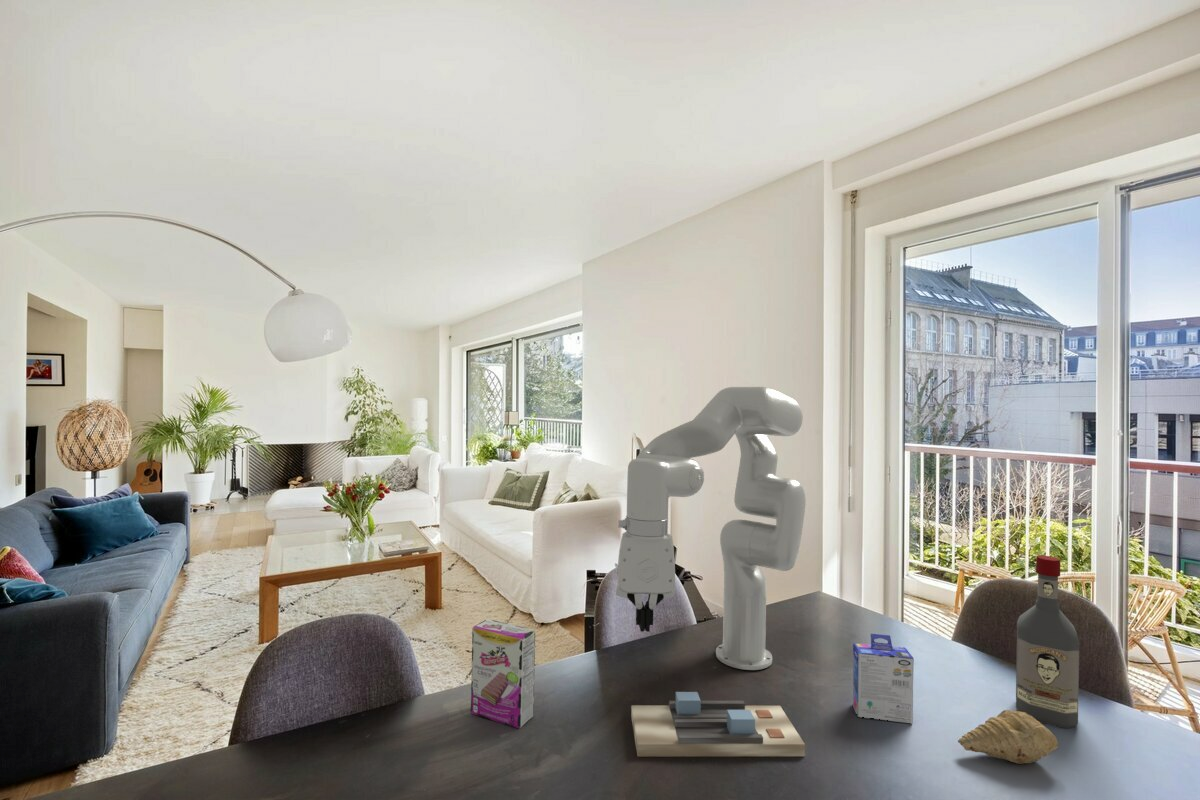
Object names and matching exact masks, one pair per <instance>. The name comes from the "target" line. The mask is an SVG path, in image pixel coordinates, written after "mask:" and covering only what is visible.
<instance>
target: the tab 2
mask: <svg viewBox="0 0 1200 800" xmlns="http://www.w3.org/2000/svg"><path fill="white" fill-rule="evenodd" d="M727 729H728V731H729V733H730V734H755V718H754V716H753V715H752V713H751V711H750V710H727Z"/></svg>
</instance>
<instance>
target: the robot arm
mask: <svg viewBox="0 0 1200 800" xmlns="http://www.w3.org/2000/svg"><path fill="white" fill-rule="evenodd" d="M803 420H804V419H803V410H802V408H801V406H800V404H799V403H798V402H797V400H795V399H794V398H792V397H790V396H788V395H786V394H784V393H782V392H780V391H778V390H775V389H774V388H773V389H772V388H770V387H766V386H729V387H725V388H723V389H721V390H719V391H718V392H717V393H716V394H715V395H714V396H713V397H712V399H710V401H709V402H708V403H707V404H706V405H705V406H704V407H703V408H702V410H701V411H699V413H698V414H697V415H696V416H695V417H694V418H693V419H691V420H689V421H687V422H685V423H682V424H680V425H678V426H675V427H674V428H671V429H669V430H667V431H665V432H663V433H661V434H659V435H658V436H656V437H655V438H653V439H652V440H651V441H650V442H649V443H648V444H647V445H646V446H645V447H644V448H643V449H642V450H641V451H640V452H639V453H638V455H637V456H636V458H635V459H632V460H631V461H629V462H628V465H627V482H626V484H627V485H626V486H627V487H626V488H627V490H626V516H625V518H624V519H618V523H617V524H618V528H619V529H621V528H622V529H624V530H625V532H623V533H622V534H621V535H622V536H621V539H620V545H619V551H618V560H617V561H618V562H617V575H616V576H617V584H616V588H615V595H616V596H617V597H621V598H624V599H628V600H629V601H630V602H631V603H632V604H633V605H634V606H635V625H636V626H639V630H640V632H642V633H643V632H645V631H646V632H647V633H649V632H651V629H650V628H651V627H650V626H654V610H655V609H656V608H657V607H656V606H657V605H659V603H661V601H663V600H664V599H670V598H674V597H675V596H676V590H675V587H676V566H675V565H676V564H675V563H676V562H675V561H676V560H675V547H674V542H673V536H672V535H671V534H669V533H668V528H669V527H668V525H669V500H670V497H676V498H677V497H678V498H688V497H691V496H694V495H696V494H697V493H698V492H699V491H700V490H701V489H702V487H703V485H704V482H705V472H704V469H703V467H702V465H701V464H700V463H699V462H698V461H696V460H695V459H694V458H697V457H698V458H699V457H703V456H708V455H711V454H714V453H718V452H719V451H721V450H723V449H724V448H725V446H726V445H727V444H728V443H729V441H730V440H731V439H732V438H733V436H735V437H736V439H737V442H738V444H739V449H740V457H739V467H738V472H737V479H736V483H735V490H734V498H733V500H734V506H735V508H736V510H737V511H739V512H741V513H742V514H746V515H750V516H754V517H761V518H767V519H773V520H775V521H776V522H775V524H776V525H775V524H771V523H763V522H759V521H754V520H747V519H733V520H730V521H727V522H726V523H724V526H723V527H722V529H721V531H720V536H719V542H720V549H721V555H722V562H723V608H722V609H723V611H722V612H723V613H722V614H723V616H722V620H723V621H722V622H723V623H722V643H721V644H719V645H718V646H717V647H716V649H715V656H716V659H718V661H720V662H721V663H723V664H724V665H726V666H729V667H731V668H734V669H739V670H745V671H759V670H763V669H766V668H768V667H770V666H771V665H772V664H773V655H772V653H771V651H769V650H768V649H766V639H767V638H766V636H767V635H766V631H767V581H766V578H765V575H764V572H763V570H762V568H765V569H771V570H776V571H781V572H787V571H791V570H792V569H793V568H795V566H796V564H797V562H798V558H799V554H800V549H801V540H802V533H803V526H804V520H805V512H806V494H805V489H804V487H803V486H802V484H801V483H800V482H799V481H797V480H795V479H794V478H790V477H782V476H781V477H780V476H777V467H778V461H779V460H778V453H777V450H776V449H775V447H774V445H773V443H772V441H771V440H770V439H769V437H768V436H774V437H776V436H778V437H791V436H794V435H796V434H797V433H798V432H799V431H800V429H801V427H802V425H803ZM644 594H645V595H648V596H647V599H646V602H645V604H644V601H643V600H642V595H644Z"/></svg>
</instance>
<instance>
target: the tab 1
mask: <svg viewBox="0 0 1200 800" xmlns="http://www.w3.org/2000/svg"><path fill="white" fill-rule="evenodd" d="M675 701H676V707H675V708H676V712H677V714H700V712H701V701H702V700H701V698H700V695H699V693H698V691H675Z"/></svg>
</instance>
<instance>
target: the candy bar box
mask: <svg viewBox="0 0 1200 800" xmlns="http://www.w3.org/2000/svg"><path fill="white" fill-rule="evenodd" d="M471 628H472V635H471V639H472V640H471V643H472V644H471V677H470V679H471V687H470V691H471V694H470V695H471V696H470V714H471V715H475V716H477V717H482V718H485V719H487V720H490V721H494V722H497V723H500V724H504V725H506V726H507V725H508V726H510V727H513V728H517V729H521V728H522V727H524V726H525V724H527V723H528V722H529V721H530V720H531V719H532V718H533V717H534V709H535V708H534V707H535V667H536V666H535V662H536V661H535V659H536V657H535V655H536V630H535V629H533V628H528V627H525V626H524V627H523V626H519V625H516V624H515V625H514V624H511V623H507V622H503V621H502V622H501V621H497V620H493V619H489V618H487V619H484V620H482V621H481V622H480V623H479V622H478V624H476V625H474V626H473V627H471Z"/></svg>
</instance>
